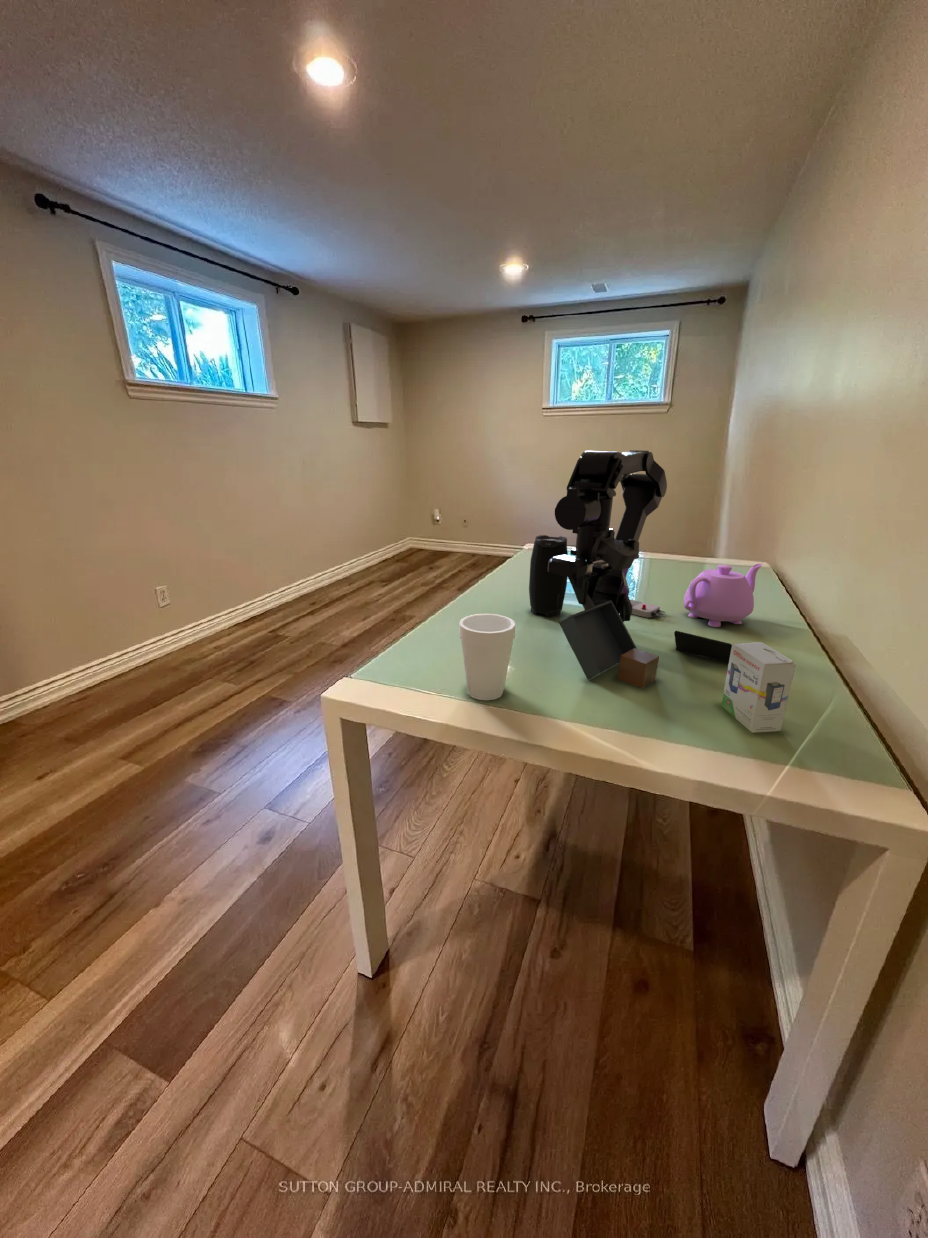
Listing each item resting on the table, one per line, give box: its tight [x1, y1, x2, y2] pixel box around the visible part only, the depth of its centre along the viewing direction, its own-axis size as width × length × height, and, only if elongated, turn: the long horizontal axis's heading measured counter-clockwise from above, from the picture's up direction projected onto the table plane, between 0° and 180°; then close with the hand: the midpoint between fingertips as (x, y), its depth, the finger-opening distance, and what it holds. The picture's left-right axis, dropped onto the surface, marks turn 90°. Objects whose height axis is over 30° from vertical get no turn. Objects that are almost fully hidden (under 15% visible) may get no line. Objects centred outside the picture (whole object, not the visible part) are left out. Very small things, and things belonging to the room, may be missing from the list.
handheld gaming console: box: [673, 630, 733, 665], centre depth 101 cm, size 12×7×10 cm
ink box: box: [720, 641, 797, 734], centre depth 77 cm, size 9×5×12 cm, turn 5°
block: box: [617, 648, 660, 689], centre depth 91 cm, size 5×5×5 cm
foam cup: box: [458, 613, 516, 701], centre depth 85 cm, size 10×9×13 cm
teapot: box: [683, 563, 763, 628], centre depth 122 cm, size 22×16×14 cm
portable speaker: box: [528, 534, 569, 618], centre depth 123 cm, size 9×9×20 cm
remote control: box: [630, 599, 667, 619], centre depth 128 cm, size 7×16×3 cm, turn 45°
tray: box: [558, 592, 638, 681], centre depth 95 cm, size 14×17×4 cm
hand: (584, 603), depth 96 cm, fingers closed on tray, 2 cm apart
